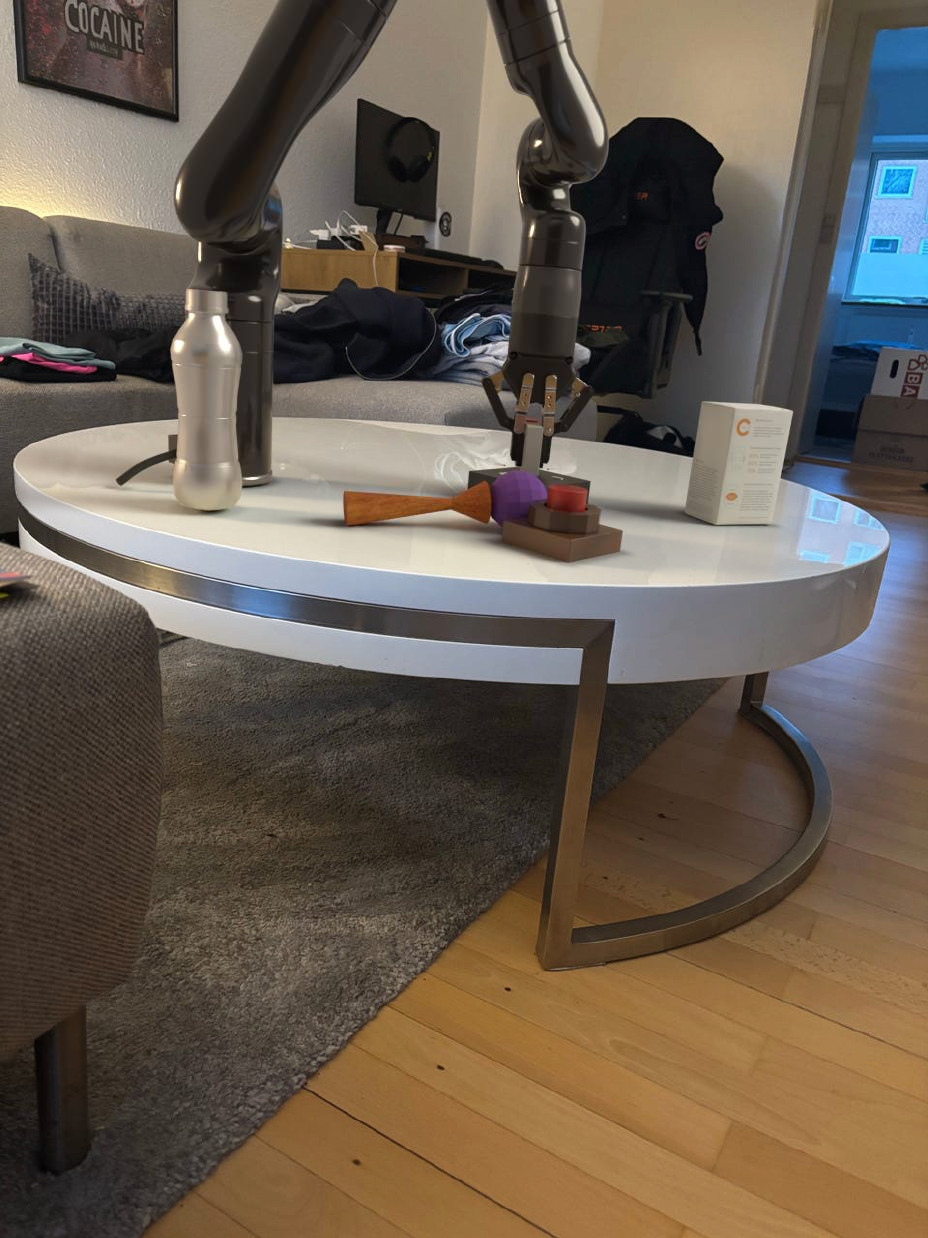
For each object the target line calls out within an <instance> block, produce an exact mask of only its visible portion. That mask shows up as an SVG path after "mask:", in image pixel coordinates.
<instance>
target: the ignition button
mask: <svg viewBox="0 0 928 1238" xmlns="http://www.w3.org/2000/svg"><path fill="white" fill-rule="evenodd" d="M586 499H587V489H585V488H582V487H578V486H573V485H563V484H554V485H550V486H549V487H548V495H547V504H546V507H548V508H551V509H555V510H562V511H572V512H581V511H585V506H586Z"/></svg>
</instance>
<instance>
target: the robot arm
mask: <svg viewBox="0 0 928 1238" xmlns="http://www.w3.org/2000/svg"><path fill="white" fill-rule="evenodd" d="M398 1H399V0H277V1H276V3H275V5H274V7H273V9H272V11H271V13H270V15H269V17H268V19H267V21H266V22H265V25H264V26H263V28H262V30H261V32H260V34H259V36H258V38H257V40H256V42H255V44H254V46H253V47H252V49H251V51H250V54H249V56H248V57H247V60H246V61H245V64H244V66H243V68H242V70H241V72H240V74H239V75H238V78H237V79H236V82H235V83H234V85H233V87H232V88H231V90H230V93H229V94H228V95H227V96H226V98H225V100H224V102H223V103H222V104H221V105H220V107H219V109H218V110H217V111H216V113H215V115H214V116H213V118H212V119H211V121H210V122H209V124H208V125H207V126H206V128H205V130H204V131H203V132H202V133H201V135H200V137H199V138H198V139H197V141H196V142H195V143H194V145H193V147H192V148H191V149H190V151H189V153H188V154H187V155H186V157H185V158H184V160H183V162H182V164H181V166H180V167H179V169H178V172H177V174H176V176H175V180H174V185H173V194H172V196H173V207H174V211H175V215H176V217H177V220H178V222H179V223H180V226H181V227H182V229H183V230H184V231H185V232H186V233H187V234H188V235H189V236H190V237H191V238H192V239H194V240H195V241H196V267H195V271H194V274H193V278H192V280H191V282H190V283H189V284H188V286H187V288H186V289H194V290H206V291H217V292H227V295H228V297H227V308H229V311H228V313H226V314H225V319H226V322H227V324H228V325H229V327H230V328H231V330H232V331H233V333H234V334H235V336H236V338H237V340H238V342H239V344H240V347H241V351H242V364H241V373H240V380H239V387H238V394H237V411H236V435H237V448H238V461H239V463H240V468H241V475H242V483H243V484H242V487H251V486H260V485H264V484H268V483H271V482H272V481H273V469H272V465H273V464H272V463H273V462H272V461H273V460H272V458H273V403H274V402H273V401H274V397H273V395H274V351H275V349H274V348H275V347H274V346H275V313H276V312H275V310H276V304H277V300H278V297H279V294H280V288H281V278H282V277H281V276H282V261H283V260H282V258H283V256H282V255H283V236H284V235H283V234H284V212H283V201H282V196H281V193H280V190H279V187H278V185H277V183H276V179H277V176H278V174H279V173H280V170H281V168H282V166H283V164H284V162H285V160H286V158H287V156H288V154H289V152H290V150H291V149H292V147H293V145H294V144H295V142H296V140H297V139H298V137H299V135H300V134H301V133H302V131H303V130H304V129H305V127H307V125H308V124H309V122H310V121H312V119H313V118H314V117H315V116H316V115H317V114H318V113H319V112H320V111H321V110H322V109H323V108H324V107H325V106H326V105H327V104H328V103H329V102H330V101H331V100H332V99H333V98H334V97H335V96H336V95H337V94H338V93H340V91H341V90H342V89H343V88H344V87H345V85H346V84H348V82H349V81H350V80H351V78H352V77H353V76H354V75H355V74H356V72H357V71H358V70H359V68H360V67H361V65H362V64H363V62H364V61H365V59H366V58H367V56H368V54H369V53H370V51H371V50H372V48H373V46H374V44H376V43H375V42H376V41H377V39H378V37H379V36H380V34H381V33H382V30H383V29H384V27H385V25H386V23H387V21H388V20H389V18H390V16H391V14H392V13H393V11H394V9H395V7H396V5H397V2H398ZM485 2H486V6H487V10H488V14H489V17H490V21H491V24H492V28H493V32H494V36H495V39H496V42H497V46H498V49H499V53H500V57H501V59H502V64H503V65H504V66H503V67H504V70H505V73H506V77H507V80H508V83H509V85H510V87H511V89H512V90H513V91H514V92H515V93H516V94H518V95H521V96H522V95H523V96H526V97H529V98H530V99H531V101H532V102H533V104H534V105H535V108H536V110H537V112H538V114H539V116H537V117H536V118H534V119H533V120H531V121H530V122H529V123H528V125H526V127H525V129H524V130H523V132H522V134H521V137H520V140H519V142H518V145H517V149H516V157H515V158H516V160H515V172H516V173H515V175H516V184H517V186H516V187H517V195H518V204H519V205H518V206H519V211H520V217H521V218H520V219H521V224H522V225H521V227H522V229H521V233H520V234H521V236H520V243H519V255H518V266H517V272H516V276H515V280H514V286H513V293H512V294H513V295H512V299H511V303H510V305H511V312H510V324H509V335H508V345H507V355H506V359H505V361H504V362H503V364H502V365H501V370H499V371H497V372H496V373H493V374H491V375H484V376H482V378H481V379H480V384H481V386H482V389H483V390H484V393H485V395H486V397H487V399H488V402H489V404H490V407H491V409H492V412H493V413H494V415H495V418H496V421H497V422H498V424H499V426H500V427H502V428H505V429H507V430H509V431H510V432H511V439H510V449H509V457H510V460H511V462H514V467H522V459H523V450H524V441H525V435H524V428H525V423H526V419H527V417H528V413H529V408H530V405H532V404H539V405H540V406H541V407H540V409H541V410H540V412H541V420H540V425H541V426H542V427H543V428H544V429H543V438H542V447H541V455H540V464H539V469H544V464H545V465H548V463H549V461H550V459H551V450H552V442H553V441H552V440H553V437H554V436H555V435H557V434H560V433H567V432H568V431H569V430H570V429H571V427H572V426H573V424H575V422H576V420H577V419H578V418H579V416H580V414H581V413H583V410H584V409H585V408H586V406H587V404H588V403H589V402H590V400H591V399H592V398H593V396H594V394H595V389H594V388H593V387H592V386H591V385H589V384H586V383H585V382H583V381H582V380H581V379H579V378H578V377H577V371H576V369H575V365H574V360H575V351H576V350H575V349H576V341H577V334H578V333H577V332H578V325H579V316H580V307H581V300H582V271H583V261H584V254H585V244H586V236H587V226H586V225H587V224H586V220H585V218H584V217H583V216H582V214H580V213H578V212H577V211H574V210H572V208H571V207H572V206H571V199H570V198H571V196H570V186H571V185H578V184H583V183H588V182H589V181H591V180H593V179H594V178H596V177H597V176H598V175H599V174H600V173H601V172H602V171H603V169H604V167H605V165H606V162H607V159H608V155H609V150H610V149H609V147H610V136H609V128H608V124H607V120H606V117H605V115H604V112H603V110H602V107H601V105H600V103H599V101H598V99H597V97H596V94H595V91H593V88H592V86H591V84H590V83H589V80H588V78H587V76H586V74H585V72H584V70H583V68H582V67H581V66H580V63H579V61H578V59H577V58H576V56H575V55H576V54H575V53H574V49H573V44H572V43H573V42H572V40H571V35H570V31H569V26H568V23H567V19H566V14H565V12H564V11H565V10H564V8H563V3H562V0H485ZM185 305H186V292H185V294H184V306H185ZM184 315H185V316H184V322H185V321H186V320H187V318H188V310H185V309H184ZM504 380H505V383H506V384H507V385H508V387H509V389H510V391H511V392H512V394H513V396H514V398H515V399H516V400H515V405H514V414H513V417H511V416H508V413H507V411H506V409H505V407H504V405H503V402H502V400H501V398H500V395H499V394H500V393H501V392H502V390H503V385H502V383H503V381H504ZM571 386H572V390H571V392H570V396H571V397H572V400H571V401H570V403H569V405H568V406H567V408H566V409H565V410H564V412H563V413H562V415H561V416H560V418H559V419H558V420H555V415H556V403H557V402H558V401H559V400H560V399H561V398H562V396H563V395H564V394H565V393H566V392H567V390H568V389H569V388H570V387H571ZM177 410H178V411H177V414H178V413H179V409H178V408H177ZM167 439H168V440H167V443H168V445H167V446H168V448H167V449H168V451H165V452H162V453H158V454H155V455H153V456H151V457H148V458H146V459H144V460H141V461H139V462H138V463H136V464H134V465H133V466H131V467H130V468H128V469H127V470H126V471H124V472H123V473H122V474H120V475H119V476H118V477H116V478H115V481H116V483H117V484H118V485H119V486H120V487H122V486H124V485H125V484H127V482H129V481H130V480H131V479H133V478H134V477H135V476H137V475H138V474H140V473H141V472H143V471H144V470H146V469H148V468H151V467H153V466H155V465H158V464H161V463H164V462H167V461H168V463H169V464H172V465H175V460H176V459H177V441H178V433H177V434H168V435H167Z"/></svg>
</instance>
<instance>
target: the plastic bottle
mask: <svg viewBox="0 0 928 1238" xmlns="http://www.w3.org/2000/svg"><path fill="white" fill-rule="evenodd" d="M185 293H186V305H185V304H184V311H185V310H188V318H187V320H186V321H185V320H184V322H183V323H182V325H181V326H180V327H179V329H178V330H177V332H176V334H175V335H174V337H173V338H172V342H171V346H170V359H171V365H172V366H171V367H172V372H173V373H172V374H173V378H174V385H175V391H176V406H177V410H178V409H179V413H178V412H177V421H178V427H177V434H178V441H177V459H176V460H175V464H173V465H174V466H173V473H172V481H171V482H172V487H173V493H174V496H175V498H176V500H177V501H178V503H179V504H180V505H181V506H183V507H185V508H189V509H195V510H200V511H204V512H213V511H219V510H220V511H221V510H226V509H230V508H234V507H235V506H237V504H238V502H239V501H240V499H241V495H242V489H243V486H242V484H243V483H242V475H241V468H240V463H239V461H238V448H237V435H236V411H237V394H238V387H239V380H240V373H241V364H242V351H241V347H240V344H239V342H238V340H237V338H236V336H235V334H234V333H233V331H232V330H231V328H230V327H229V325H228V324H227V322H226V319H225V314H226V313H228V311H229V308H227V297H228V295H227V292H217V291H206V290H194V289H187V288H186V289H185Z"/></svg>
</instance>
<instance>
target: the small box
mask: <svg viewBox="0 0 928 1238" xmlns="http://www.w3.org/2000/svg"><path fill="white" fill-rule="evenodd" d="M793 415H794V411H793V410H792V409H791V410H790V409H787V408H782V407H779V406H778V407H777V406H772V405H766V404H760V403H742V402H722V401H721V402H719V401H704V400H703V401H701V405H700V410H699V418H698V424H697V430H696V437H695V443H694V449H693V455H692V462H691V469H690V475H689V481H688V488H687V495H686V501H685V507H684V513H685V515H687V516H691V517H692V518H693V517H694V518H696V519H698V520H701V521H703V522H706V523H709V524H711V525H715V526H721V525H723V526H725V525H727V526H729V525H772V524H773V519H774V514H775V507H776V503H777V498H778V492H779V488H780V482H781V476H782V471H783V467H784V460H785V456H786V450H787V445H788V440H789V435H790V429H791V424H792V419H793Z"/></svg>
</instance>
